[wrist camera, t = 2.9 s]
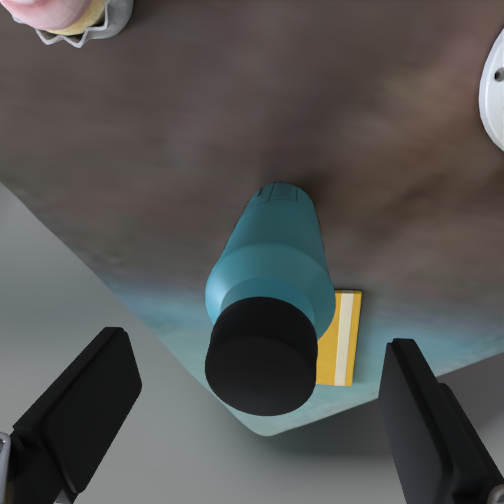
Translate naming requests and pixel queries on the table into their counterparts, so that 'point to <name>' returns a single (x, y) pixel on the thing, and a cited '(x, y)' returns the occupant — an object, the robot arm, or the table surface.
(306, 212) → the beverage bottle
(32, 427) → the robot arm
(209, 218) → the table surface
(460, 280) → the table surface
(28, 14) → the cupcake
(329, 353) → the towel
